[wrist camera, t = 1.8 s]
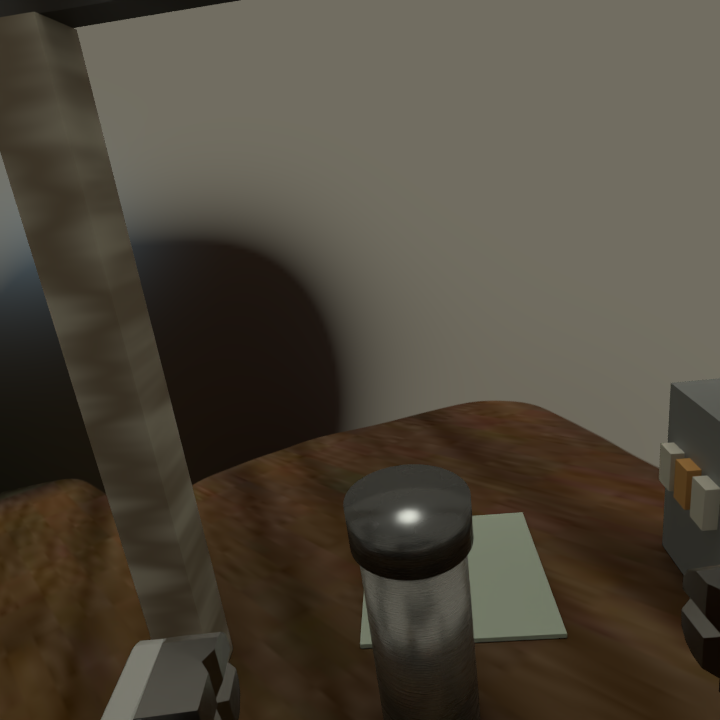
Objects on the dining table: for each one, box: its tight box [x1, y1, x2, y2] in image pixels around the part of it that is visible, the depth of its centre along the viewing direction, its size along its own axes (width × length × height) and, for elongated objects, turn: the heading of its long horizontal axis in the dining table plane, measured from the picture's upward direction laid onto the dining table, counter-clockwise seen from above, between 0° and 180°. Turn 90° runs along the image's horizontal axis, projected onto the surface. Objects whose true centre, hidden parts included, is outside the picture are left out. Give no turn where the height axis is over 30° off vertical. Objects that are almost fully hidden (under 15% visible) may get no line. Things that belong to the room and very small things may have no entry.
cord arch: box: [0, 0, 239, 662], centre depth 26 cm, size 36×3×36 cm, turn 87°
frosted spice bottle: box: [344, 465, 481, 720], centre depth 25 cm, size 5×5×14 cm
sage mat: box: [360, 512, 567, 648], centre depth 39 cm, size 12×12×1 cm
